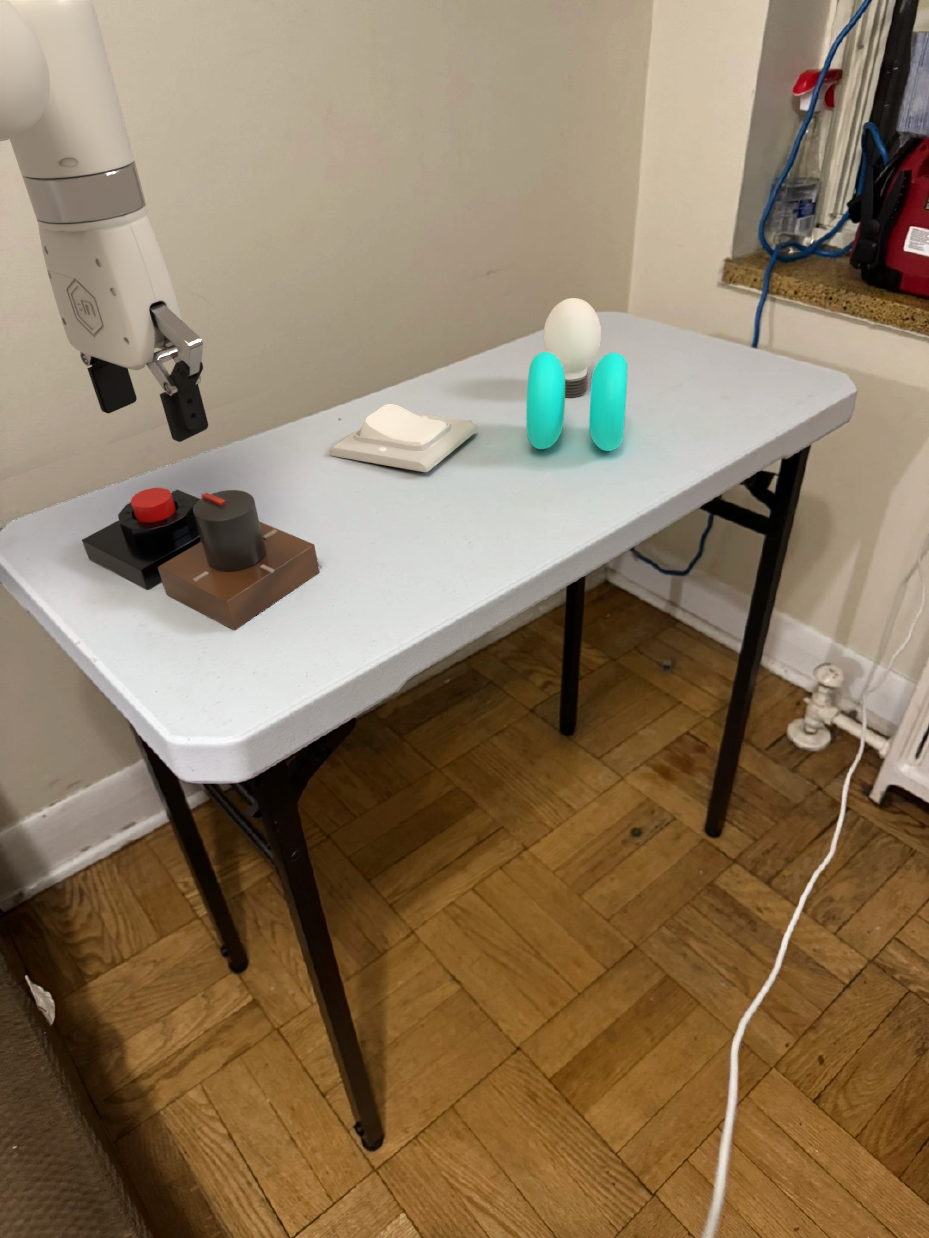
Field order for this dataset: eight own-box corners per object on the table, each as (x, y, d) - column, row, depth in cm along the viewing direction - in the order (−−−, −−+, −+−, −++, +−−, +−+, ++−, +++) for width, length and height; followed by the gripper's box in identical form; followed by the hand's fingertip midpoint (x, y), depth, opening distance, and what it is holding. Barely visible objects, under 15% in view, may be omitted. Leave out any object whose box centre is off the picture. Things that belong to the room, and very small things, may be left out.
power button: (152, 528, 78) (146, 511, 77) (128, 516, 80) (122, 500, 79) (184, 510, 80) (179, 494, 79) (160, 500, 82) (154, 483, 81)
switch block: (147, 590, 76) (134, 552, 74) (88, 559, 81) (74, 522, 78) (242, 534, 83) (233, 497, 81) (182, 508, 88) (172, 472, 85)
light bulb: (597, 402, 102) (602, 309, 96) (540, 401, 103) (541, 309, 97) (599, 380, 108) (603, 289, 101) (545, 379, 109) (546, 289, 102)
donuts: (534, 423, 99) (534, 337, 93) (622, 425, 97) (628, 338, 91) (525, 465, 91) (524, 374, 85) (621, 468, 90) (628, 376, 83)
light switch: (380, 388, 100) (475, 400, 94) (385, 421, 103) (479, 435, 97) (323, 426, 93) (422, 442, 87) (330, 461, 96) (427, 478, 90)
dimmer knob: (277, 550, 75) (266, 496, 72) (233, 578, 72) (219, 523, 69) (239, 533, 77) (226, 481, 74) (195, 559, 74) (179, 506, 71)
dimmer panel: (235, 631, 71) (226, 600, 69) (165, 594, 76) (155, 565, 74) (320, 572, 77) (315, 543, 75) (251, 542, 82) (244, 513, 80)
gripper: (-24, 196, 63) (57, 413, 74) (112, 223, 54) (182, 466, 65) (67, 174, 68) (131, 382, 78) (207, 197, 59) (258, 428, 69)
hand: (154, 420), depth 72 cm, fingers open, 9 cm apart
